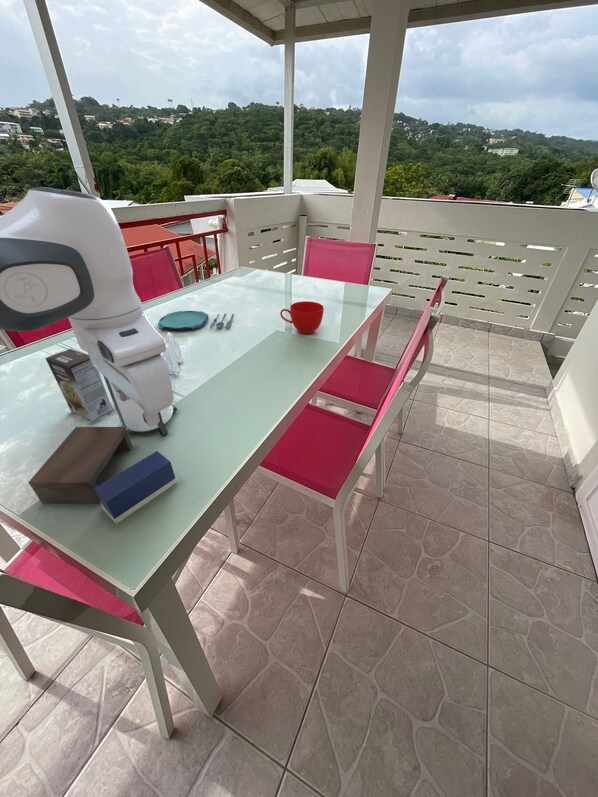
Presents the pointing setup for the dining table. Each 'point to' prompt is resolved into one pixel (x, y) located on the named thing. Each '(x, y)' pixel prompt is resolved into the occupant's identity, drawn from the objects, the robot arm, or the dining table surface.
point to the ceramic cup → (305, 316)
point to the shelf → (78, 465)
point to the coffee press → (137, 414)
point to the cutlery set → (189, 320)
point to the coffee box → (80, 383)
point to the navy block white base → (135, 486)
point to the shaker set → (172, 354)
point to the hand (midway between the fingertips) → (138, 410)
